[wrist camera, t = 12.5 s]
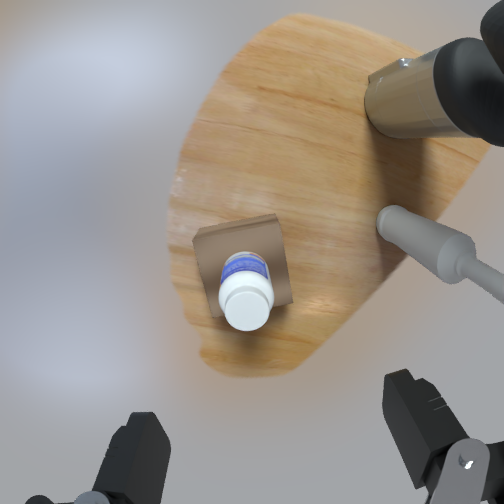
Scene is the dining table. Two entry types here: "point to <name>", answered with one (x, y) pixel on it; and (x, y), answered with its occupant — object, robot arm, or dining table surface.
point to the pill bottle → (246, 291)
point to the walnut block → (242, 240)
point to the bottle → (438, 249)
